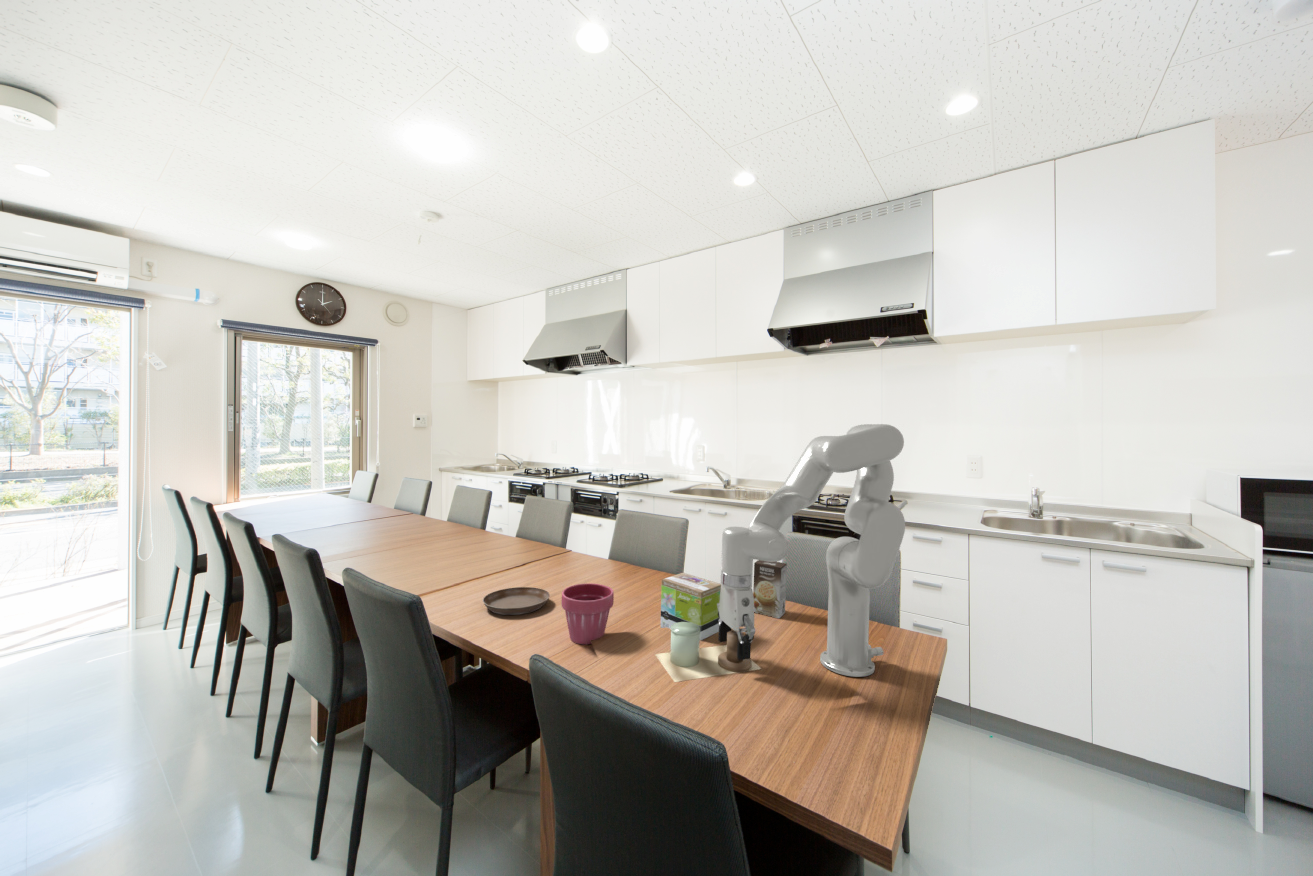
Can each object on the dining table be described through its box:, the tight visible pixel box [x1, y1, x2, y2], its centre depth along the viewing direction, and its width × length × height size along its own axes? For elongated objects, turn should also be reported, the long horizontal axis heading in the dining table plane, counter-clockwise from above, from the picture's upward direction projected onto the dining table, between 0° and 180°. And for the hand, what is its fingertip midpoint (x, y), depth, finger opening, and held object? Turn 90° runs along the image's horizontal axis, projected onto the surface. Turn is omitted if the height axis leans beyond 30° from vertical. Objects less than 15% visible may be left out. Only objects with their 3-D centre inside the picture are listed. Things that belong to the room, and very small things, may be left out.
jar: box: [670, 622, 701, 667], centre depth 118 cm, size 7×7×8 cm
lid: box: [718, 630, 753, 673], centre depth 117 cm, size 8×8×7 cm
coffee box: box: [752, 560, 788, 619], centre depth 154 cm, size 9×6×16 cm
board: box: [654, 644, 762, 683], centre depth 118 cm, size 22×14×1 cm, turn 109°
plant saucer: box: [482, 586, 551, 616], centre depth 155 cm, size 21×21×3 cm
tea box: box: [660, 572, 721, 641], centre depth 138 cm, size 15×10×15 cm, turn 47°
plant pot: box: [561, 582, 615, 645], centre depth 132 cm, size 14×14×13 cm
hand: (733, 649), depth 117 cm, fingers open, 9 cm apart
